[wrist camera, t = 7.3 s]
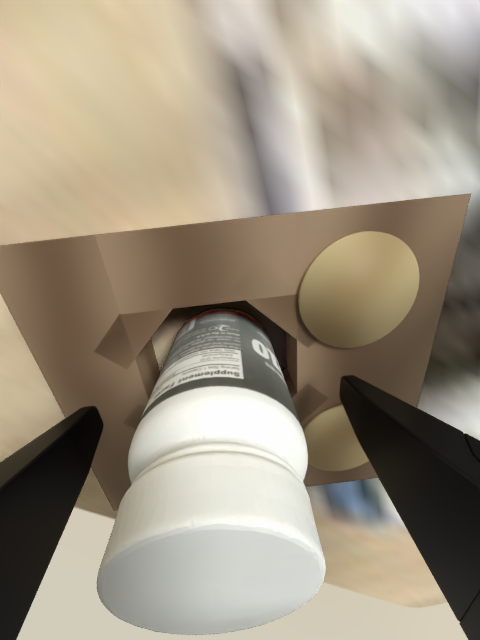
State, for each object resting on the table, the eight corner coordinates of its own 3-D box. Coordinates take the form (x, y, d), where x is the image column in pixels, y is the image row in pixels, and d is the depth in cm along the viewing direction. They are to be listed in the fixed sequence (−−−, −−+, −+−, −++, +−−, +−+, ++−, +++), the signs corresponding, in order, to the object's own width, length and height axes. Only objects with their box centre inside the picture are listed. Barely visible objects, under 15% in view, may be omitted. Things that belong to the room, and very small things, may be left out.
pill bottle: (277, 376, 13) (360, 620, 5) (192, 397, 13) (145, 662, 5) (258, 293, 11) (341, 478, 3) (159, 319, 11) (8, 553, 3)
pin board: (424, 198, 10) (477, 192, 8) (378, 443, 15) (402, 478, 13) (25, 242, 9) (-30, 249, 7) (127, 474, 15) (112, 514, 13)
